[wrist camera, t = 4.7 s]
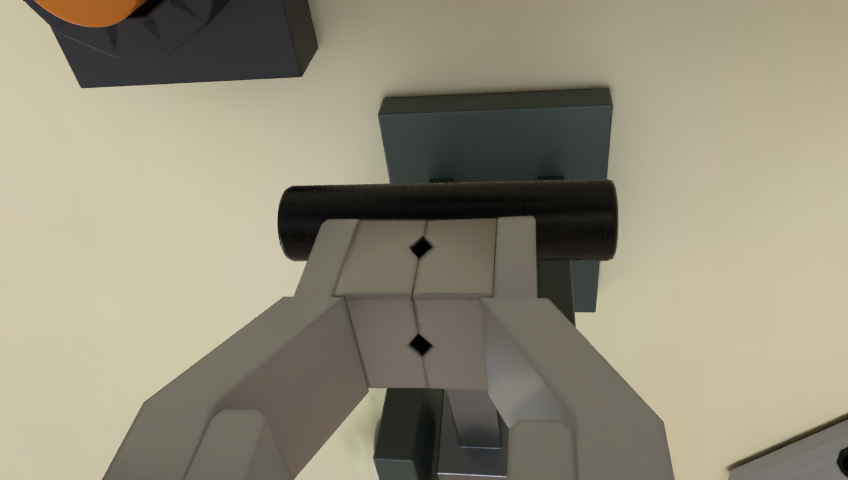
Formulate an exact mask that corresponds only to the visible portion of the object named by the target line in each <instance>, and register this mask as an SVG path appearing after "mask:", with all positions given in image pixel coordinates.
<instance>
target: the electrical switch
mask: <svg viewBox="0 0 848 480" xmlns="http://www.w3.org/2000/svg"><path fill="white" fill-rule="evenodd" d="M729 480H848V420H845V421H843V422H841V423H839V424H836V425H834V426H832V427H829V428H827V429H825V430H822V431H820V432H818V433H816V434H813V435H811V436H809V437H806V438H804V439H802V440H799V441H797V442H795V443H792V444H790V445H788V446H786V447H783V448H781V449H779V450H776V451H774V452H772V453H769V454H767V455H765V456H763V457H760V458H758V459H756V460H753V461H751V462H749V463H746V464H744V465H742V466H739V467H737V468H735V469H733V470H732V471H731V472H730V476H729Z"/></svg>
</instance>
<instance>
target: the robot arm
mask: <svg viewBox="0 0 848 480" xmlns="http://www.w3.org/2000/svg"><path fill="white" fill-rule="evenodd" d="M368 388H434V389H452V390H470V391H488V395H489V397H490V398H491V400H492V402H493V403H494V405H495V407H496V408H497V410H498V412H499V413H500V415H501V417H502V418H503V420H504V422H505V423H506V425H507V427H508V428H509V436H508V461H507V480H675V479H674V474H673V469H672V463H671V458H670V453H669V448H668V442H667V437H666V432H665V427H664V422H663V421H662V420H661V419H660V418H659V416H658V415H657V414H656V413H655V412H654V411H653V410H652V409H651V408H650V407H649V406H648V405H647V404H646V403H645V401H644V400H643V399H642V398H641V397H640V396H639V395H638V394H637V393H636V392H635V391H634V390H633V389H632V388H631V386H630V385H629V384H628V383H627V382H626V381H625V380H624V379H623V378H622V377H621V376H620V375H619V374H618V373H617V371H616V370H615V369H614V368H613V367H612V366H611V365H610V364H609V363H608V362H607V361H606V360H605V359H604V358H603V356H602V355H601V354H600V353H599V352H598V351H597V350H596V349H595V348H594V347H593V346H592V345H591V344H590V343H589V341H588V340H587V339H586V338H585V337H584V336H583V335H582V334H581V333H580V332H579V331H578V330H577V329H576V328H575V326H574V325H573V324H572V323H571V322H570V321H569V320H568V319H567V318H566V317H565V316H564V315H563V314H562V313H561V311H560V310H559V309H558V308H557V307H556V306H555V305H554V304H553V303H552V302H551V301H550V300H549V299H548V298H537V269H536V220H535V218H534V216H514V217H498V218H486V219H434V220H428V219H361V220H359V219H327V220H326V221H325V222H324V223H323V224H322V225H321V227H320V230H319V232H318V235H317V237H316V240H315V243H314V245H313V248H312V250H311V253H310V256H309V258H308V261H307V263H306V266H305V268H304V271H303V274H302V276H301V279H300V281H299V284H298V287H297V289H296V292H295V294H294V297H283V298H281V299H280V300H279V301H277V302H276V303H275V304H273V305H272V306H271V307H269V308H268V309H267V310H266V311H264V312H263V313H262V314H260V315H259V316H258V317H256V318H255V319H254V320H252V321H251V322H250V323H248V324H247V325H246V326H244V327H243V328H242V329H240V330H239V331H238V332H236V333H235V334H234V335H232V336H231V337H230V338H228V339H227V340H226V341H224V342H223V343H222V344H220V345H219V346H218V347H216V348H215V349H214V350H213V351H211V352H210V353H209V354H207V355H206V356H205V357H203V358H202V359H201V360H199V361H198V362H197V363H195V364H194V365H193V366H191V367H190V368H189V369H187V370H186V371H185V372H183V373H182V374H181V375H179V376H178V377H177V378H175V379H174V380H173V381H171V382H170V383H169V384H167V385H166V386H165V387H163V388H162V389H161V390H160V391H158V392H157V393H156V394H154V395H153V396H152V397H150V398H149V399H148V400H146V401H145V402H144V403H143V405H142V407H141V408H140V410H139V412H138V414H137V416H136V418H135V420H134V421H133V423H132V425H131V427H130V429H129V431H128V433H127V434H126V436H125V438H124V440H123V442H122V444H121V445H120V447H119V449H118V451H117V453H116V455H115V457H114V458H113V460H112V462H111V464H110V466H109V468H108V470H107V471H106V473H105V475H104V477H103V479H102V480H294V479H295V477H296V476H297V475H298V474H299V473H300V471H301V470H302V469H303V468H304V467H305V466H306V464H307V463H308V462H309V461H310V460H311V459H312V457H313V456H314V455H315V454H316V453H317V452H318V450H319V449H320V448H321V447H322V446H323V445H324V443H325V442H326V441H327V440H328V439H329V438H330V436H331V435H332V434H333V433H334V432H335V431H336V429H337V428H338V427H339V426H340V425H341V424H342V422H343V421H344V420H345V419H346V418H347V417H348V415H349V414H350V413H351V412H352V411H353V409H354V408H355V407H356V406H357V405H358V404H359V402H360V401H361V400H362V399H363V398H364V397H365V395H366V394H367V393H368V392H369V390H368Z"/></svg>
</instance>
